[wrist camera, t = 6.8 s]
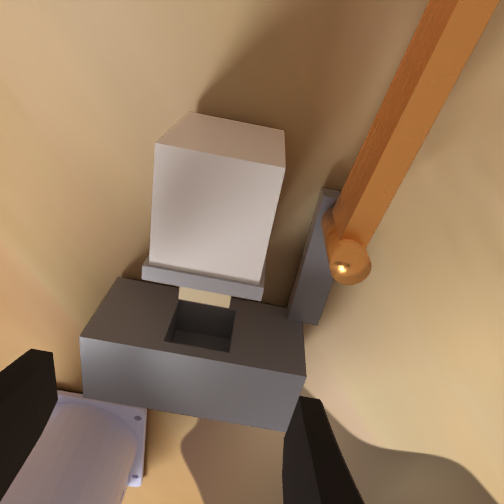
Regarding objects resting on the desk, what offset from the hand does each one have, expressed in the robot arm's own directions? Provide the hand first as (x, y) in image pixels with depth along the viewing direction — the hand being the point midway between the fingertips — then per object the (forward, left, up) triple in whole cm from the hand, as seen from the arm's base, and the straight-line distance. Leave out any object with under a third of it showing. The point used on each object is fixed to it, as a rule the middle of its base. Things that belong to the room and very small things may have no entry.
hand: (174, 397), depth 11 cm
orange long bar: (+8, -6, -8) cm, 13 cm away
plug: (+3, 0, -9) cm, 9 cm away
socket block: (-2, 0, -9) cm, 9 cm away
